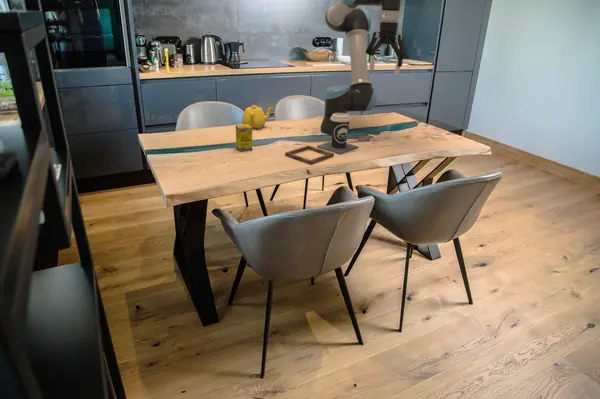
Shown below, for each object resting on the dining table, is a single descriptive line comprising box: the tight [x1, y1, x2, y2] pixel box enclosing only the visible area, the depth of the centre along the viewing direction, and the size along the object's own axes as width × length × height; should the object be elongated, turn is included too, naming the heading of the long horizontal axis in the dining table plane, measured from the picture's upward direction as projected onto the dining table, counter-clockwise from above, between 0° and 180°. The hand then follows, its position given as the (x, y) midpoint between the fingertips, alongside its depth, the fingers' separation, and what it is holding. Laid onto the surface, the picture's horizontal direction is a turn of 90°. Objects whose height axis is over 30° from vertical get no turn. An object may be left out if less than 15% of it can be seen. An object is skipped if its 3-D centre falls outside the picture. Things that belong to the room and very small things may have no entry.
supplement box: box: [235, 124, 253, 152], centre depth 199 cm, size 6×6×11 cm
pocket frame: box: [284, 145, 335, 166], centre depth 195 cm, size 15×15×2 cm
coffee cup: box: [330, 113, 352, 148], centre depth 204 cm, size 10×10×15 cm
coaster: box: [316, 140, 360, 155], centre depth 207 cm, size 14×14×1 cm
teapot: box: [241, 104, 274, 130], centre depth 232 cm, size 14×14×12 cm
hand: (383, 72), depth 196 cm, fingers open, 13 cm apart
